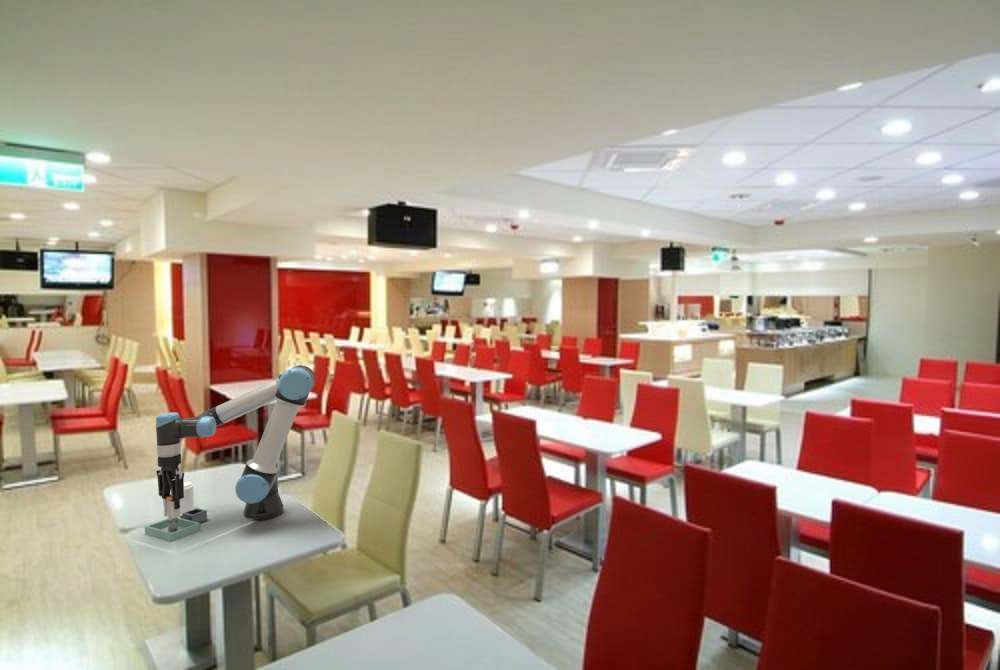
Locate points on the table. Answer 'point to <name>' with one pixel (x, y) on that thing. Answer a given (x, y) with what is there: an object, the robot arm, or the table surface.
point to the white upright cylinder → (187, 498)
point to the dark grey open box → (196, 515)
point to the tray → (188, 529)
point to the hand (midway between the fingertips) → (172, 516)
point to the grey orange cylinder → (171, 522)
